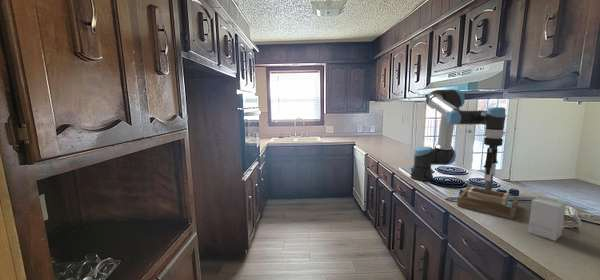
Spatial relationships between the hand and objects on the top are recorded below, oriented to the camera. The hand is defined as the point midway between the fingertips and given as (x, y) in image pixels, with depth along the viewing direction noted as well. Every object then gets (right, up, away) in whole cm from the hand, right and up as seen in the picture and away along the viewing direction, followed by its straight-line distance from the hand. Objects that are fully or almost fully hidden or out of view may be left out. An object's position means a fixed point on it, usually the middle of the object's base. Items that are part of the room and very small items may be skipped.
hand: (489, 177), depth 134 cm
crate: (0, -15, +3) cm, 15 cm away
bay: (+3, -16, +6) cm, 18 cm away
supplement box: (+7, -21, -23) cm, 32 cm away
